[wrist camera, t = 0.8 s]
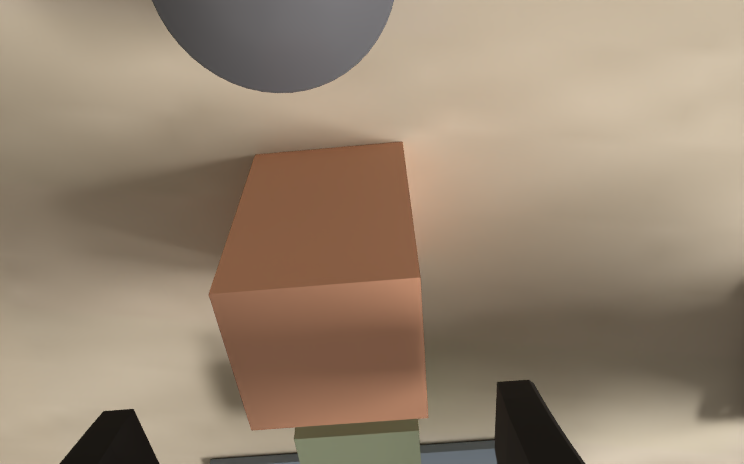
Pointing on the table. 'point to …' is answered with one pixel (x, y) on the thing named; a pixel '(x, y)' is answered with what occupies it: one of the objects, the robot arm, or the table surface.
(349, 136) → the table surface
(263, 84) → the dark grey cylinder
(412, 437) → the olive cube
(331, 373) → the terracotta block
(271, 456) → the slate mat
